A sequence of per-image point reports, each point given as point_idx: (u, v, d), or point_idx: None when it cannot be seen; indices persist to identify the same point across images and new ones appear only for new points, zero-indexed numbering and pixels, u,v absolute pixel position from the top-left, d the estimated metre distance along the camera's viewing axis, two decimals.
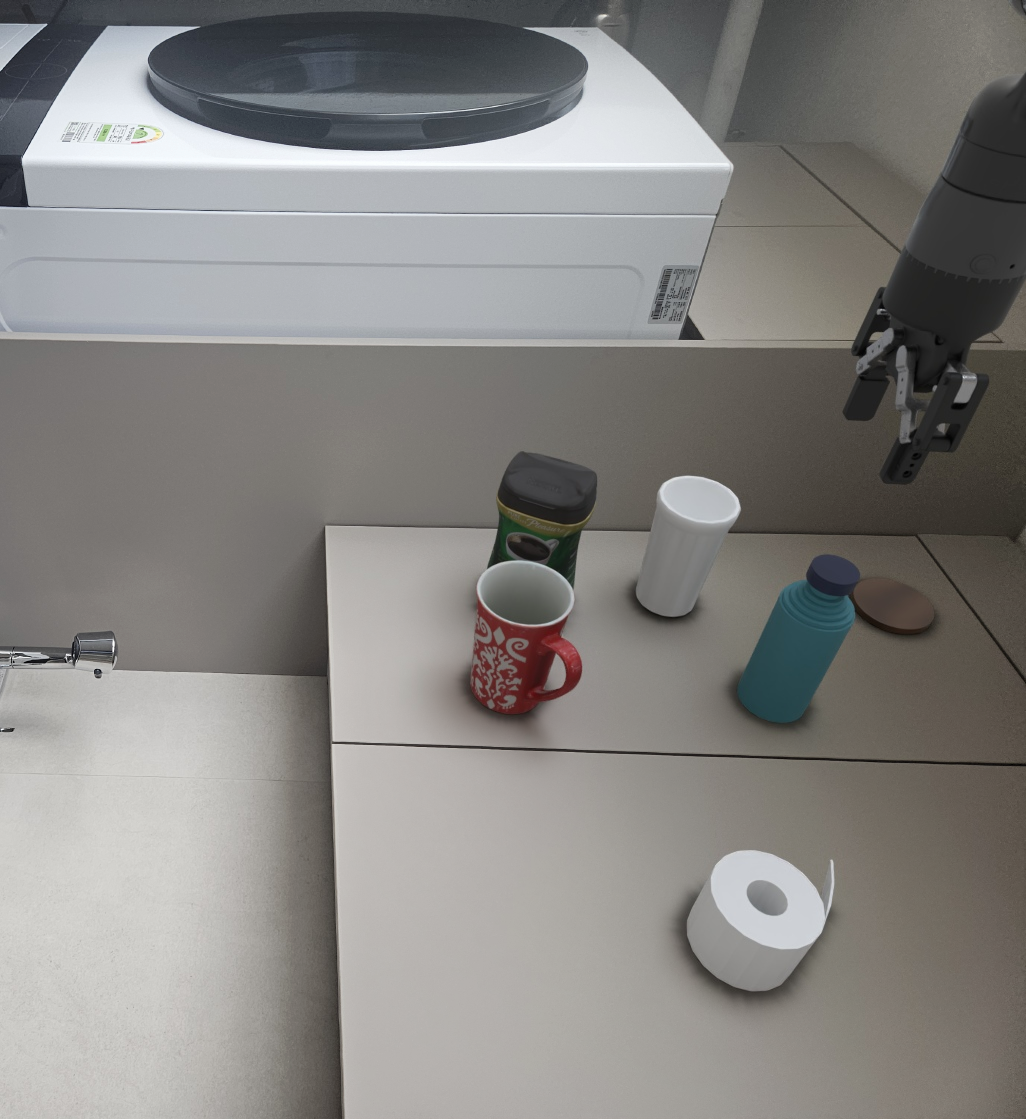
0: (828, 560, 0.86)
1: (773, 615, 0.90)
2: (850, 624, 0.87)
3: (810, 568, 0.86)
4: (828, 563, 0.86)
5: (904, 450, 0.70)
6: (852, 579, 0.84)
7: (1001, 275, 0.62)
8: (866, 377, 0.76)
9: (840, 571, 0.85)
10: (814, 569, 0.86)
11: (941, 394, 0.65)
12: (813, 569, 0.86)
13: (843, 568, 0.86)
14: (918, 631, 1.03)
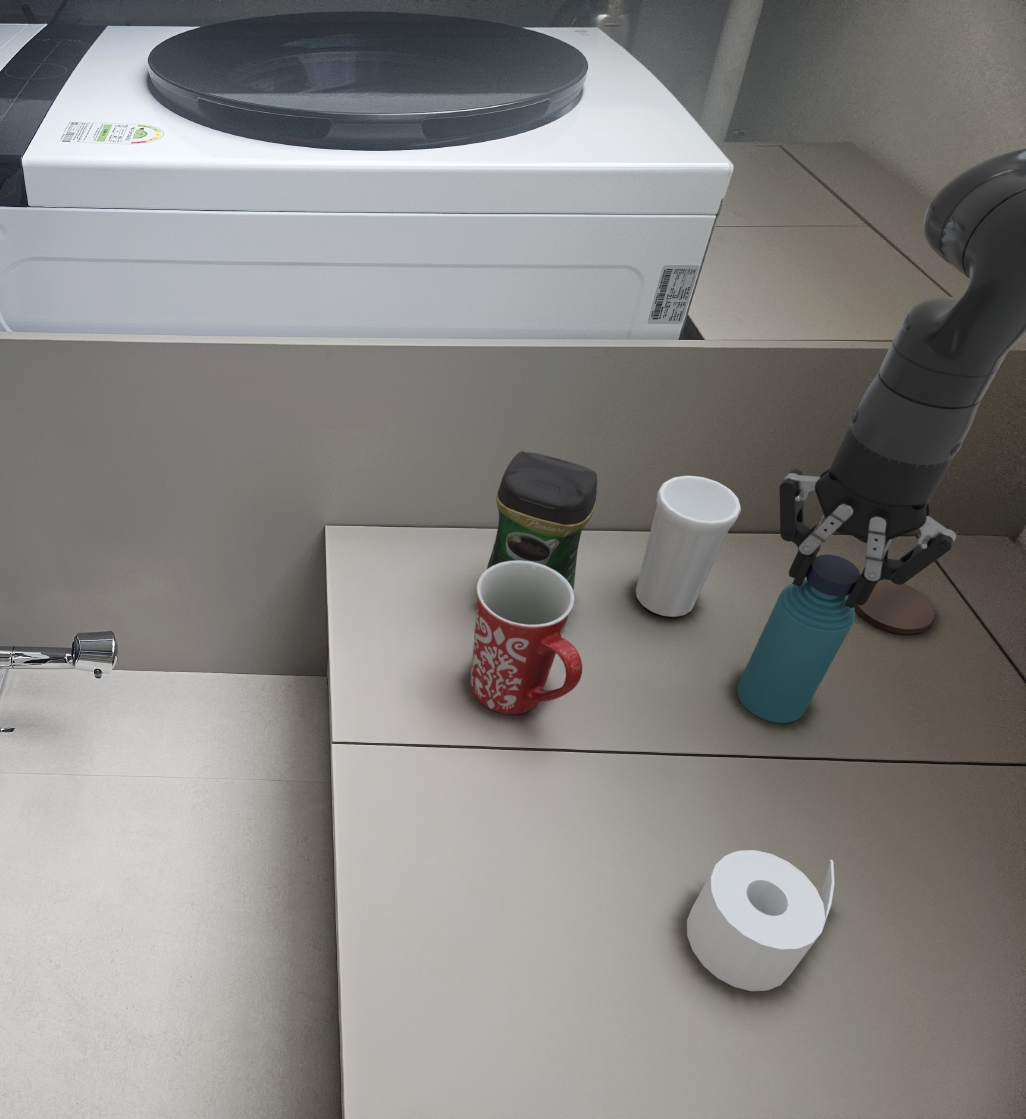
0: (828, 560, 0.86)
1: (773, 615, 0.90)
2: (850, 624, 0.87)
3: (810, 568, 0.86)
4: (828, 563, 0.86)
5: (869, 583, 0.83)
6: (852, 579, 0.84)
7: None
8: (813, 553, 0.85)
9: (840, 571, 0.85)
10: (814, 569, 0.86)
11: (936, 553, 0.78)
12: (813, 569, 0.86)
13: (843, 568, 0.86)
14: (918, 631, 1.03)
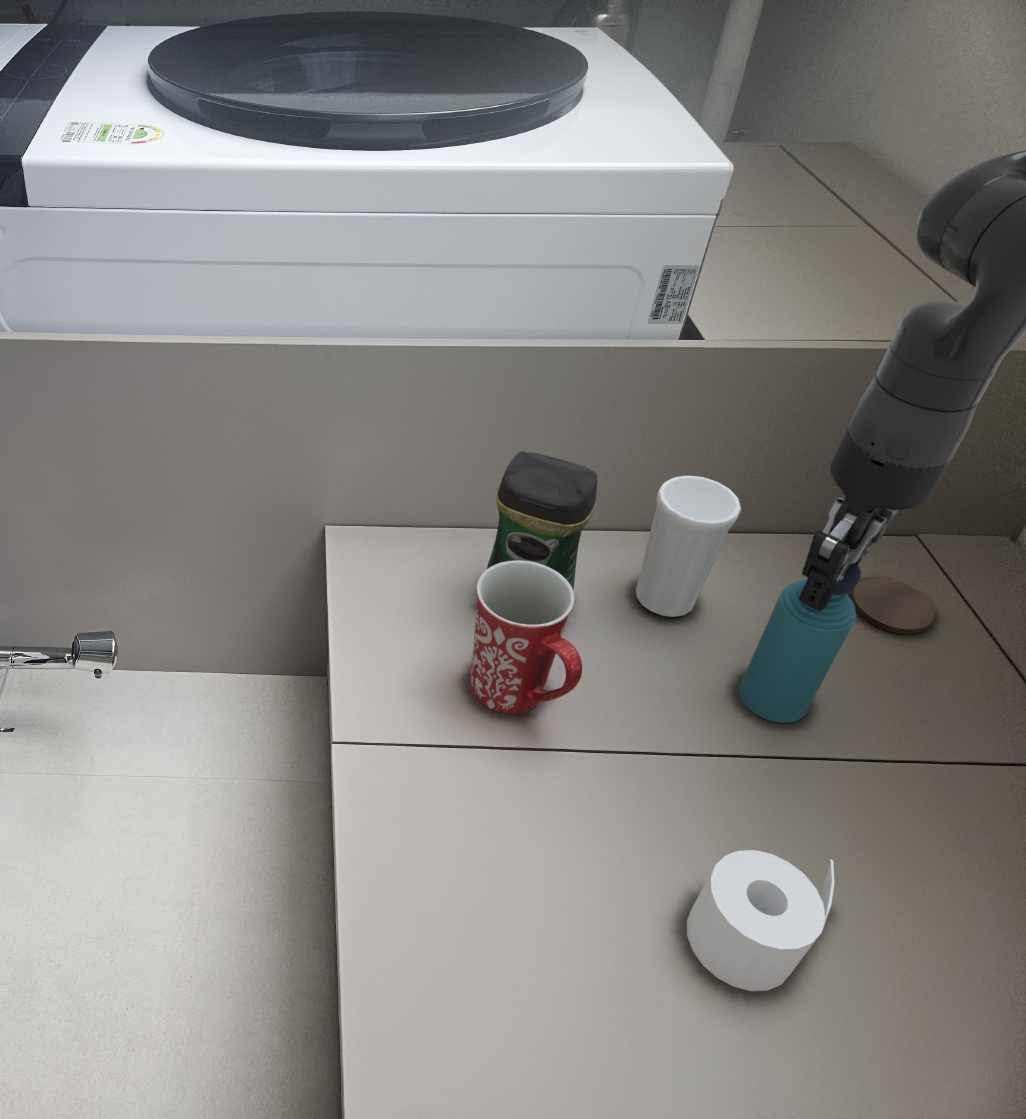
0: None
1: (774, 615, 0.90)
2: (851, 623, 0.87)
3: None
4: None
5: None
6: None
7: None
8: None
9: None
10: (842, 582, 0.84)
11: None
12: (841, 582, 0.84)
13: None
14: (918, 631, 1.03)
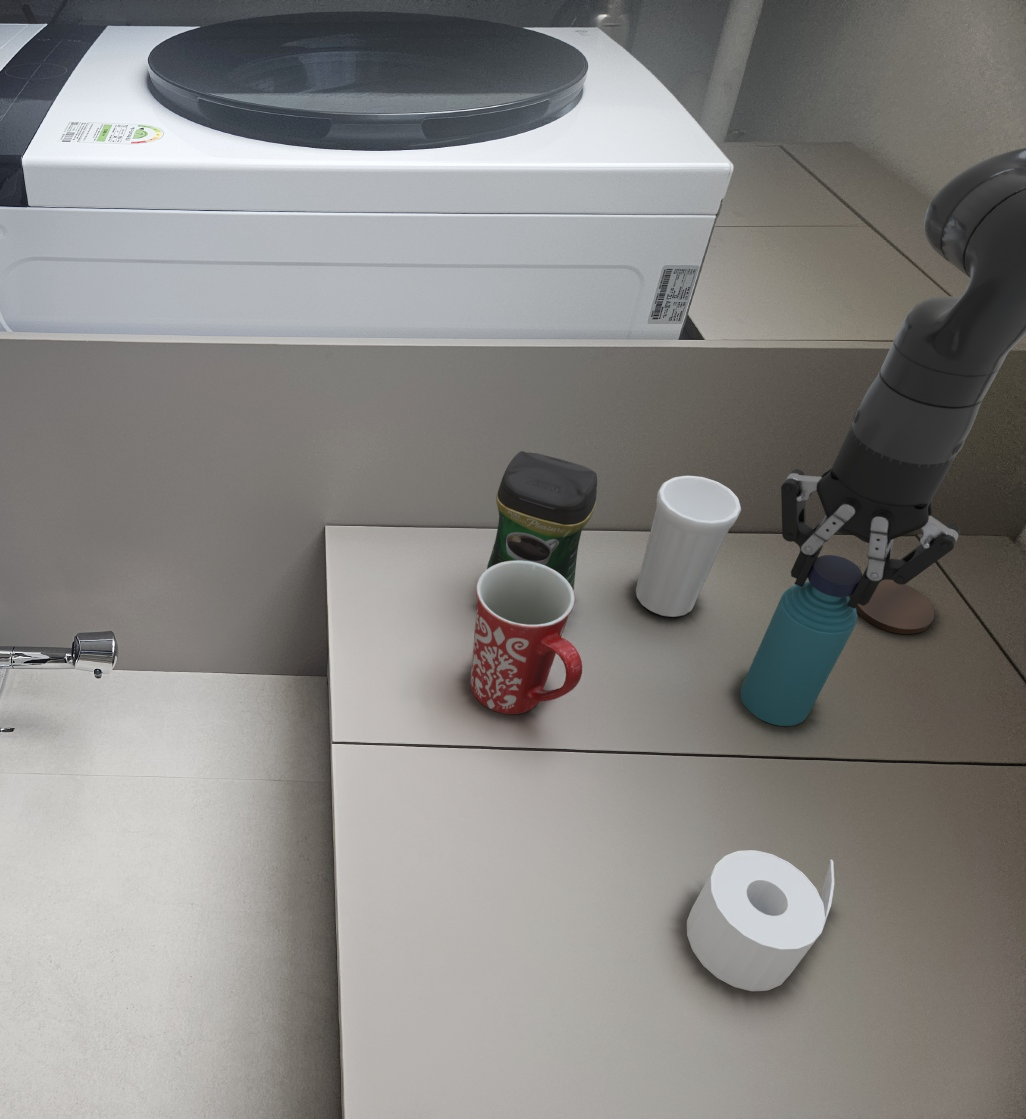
0: (841, 578, 0.84)
1: (775, 618, 0.90)
2: (852, 626, 0.87)
3: None
4: (842, 576, 0.85)
5: (872, 583, 0.83)
6: (825, 557, 0.86)
7: None
8: (815, 553, 0.85)
9: (833, 567, 0.85)
10: (861, 573, 0.85)
11: (938, 553, 0.78)
12: (861, 574, 0.85)
13: (828, 568, 0.85)
14: (918, 631, 1.03)
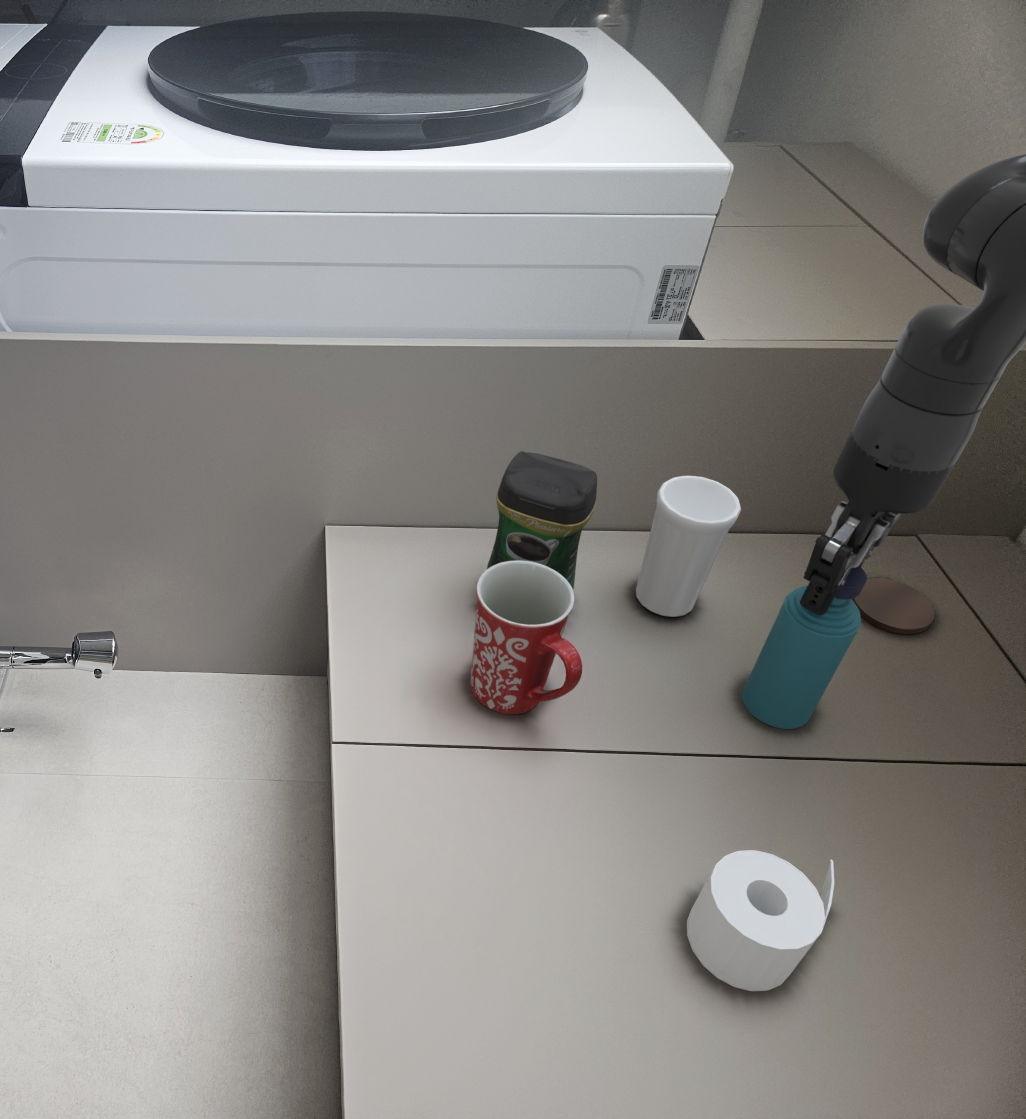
0: (856, 574, 0.85)
1: (778, 621, 0.90)
2: (856, 629, 0.86)
3: None
4: (851, 572, 0.85)
5: None
6: None
7: None
8: None
9: None
10: None
11: None
12: None
13: None
14: (918, 631, 1.03)
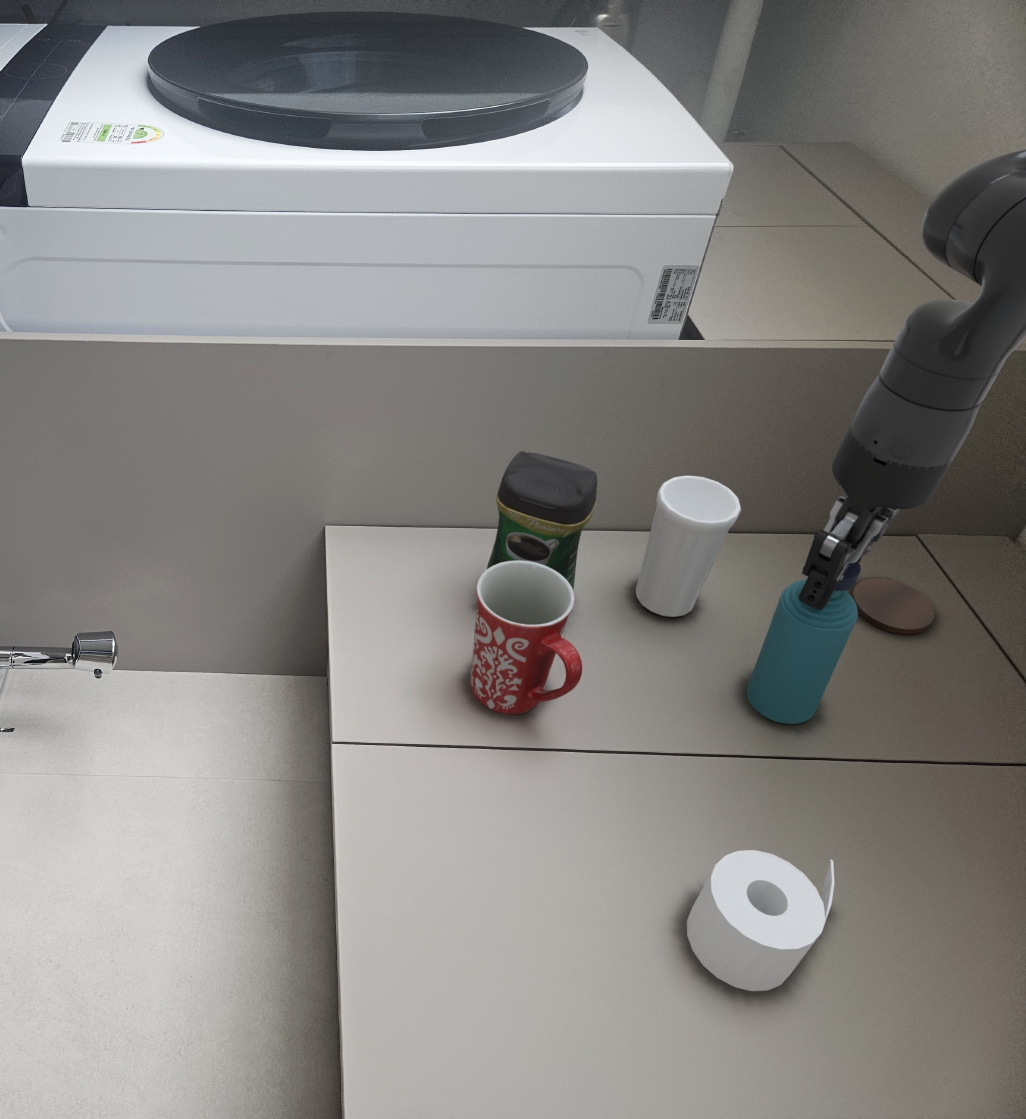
0: None
1: (776, 617, 0.90)
2: (853, 621, 0.87)
3: None
4: None
5: None
6: (855, 565, 0.85)
7: None
8: None
9: None
10: None
11: None
12: None
13: None
14: (918, 631, 1.03)
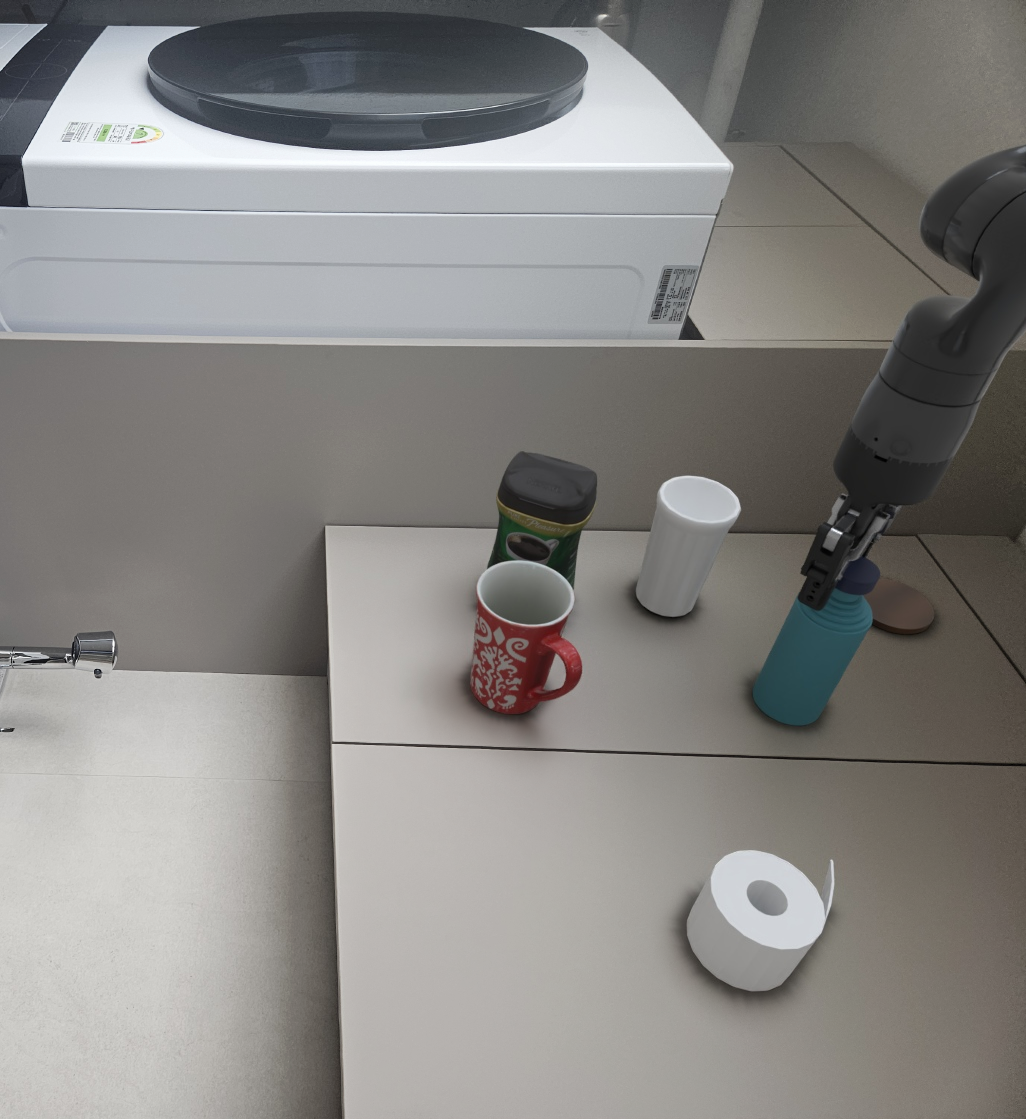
0: None
1: (790, 618, 0.90)
2: (868, 626, 0.87)
3: None
4: None
5: None
6: (875, 570, 0.85)
7: None
8: None
9: (860, 567, 0.85)
10: (847, 578, 0.84)
11: None
12: (846, 579, 0.84)
13: (857, 563, 0.85)
14: (918, 631, 1.03)
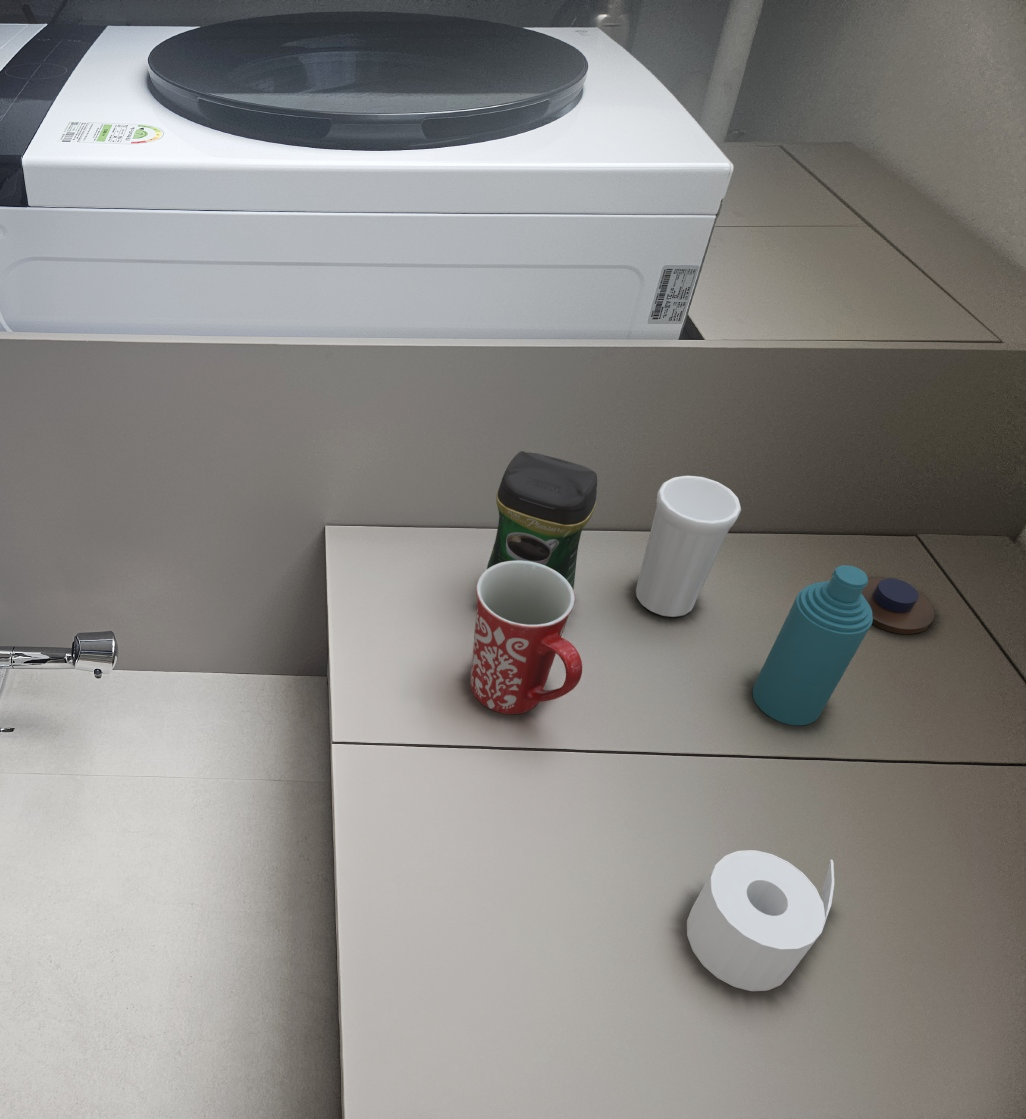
0: (886, 586, 1.06)
1: (790, 618, 0.90)
2: (868, 626, 0.87)
3: (885, 599, 1.05)
4: (890, 588, 1.05)
5: None
6: (914, 592, 1.05)
7: None
8: None
9: (902, 590, 1.05)
10: (892, 599, 1.04)
11: None
12: (891, 599, 1.04)
13: (899, 586, 1.06)
14: (918, 631, 1.03)
